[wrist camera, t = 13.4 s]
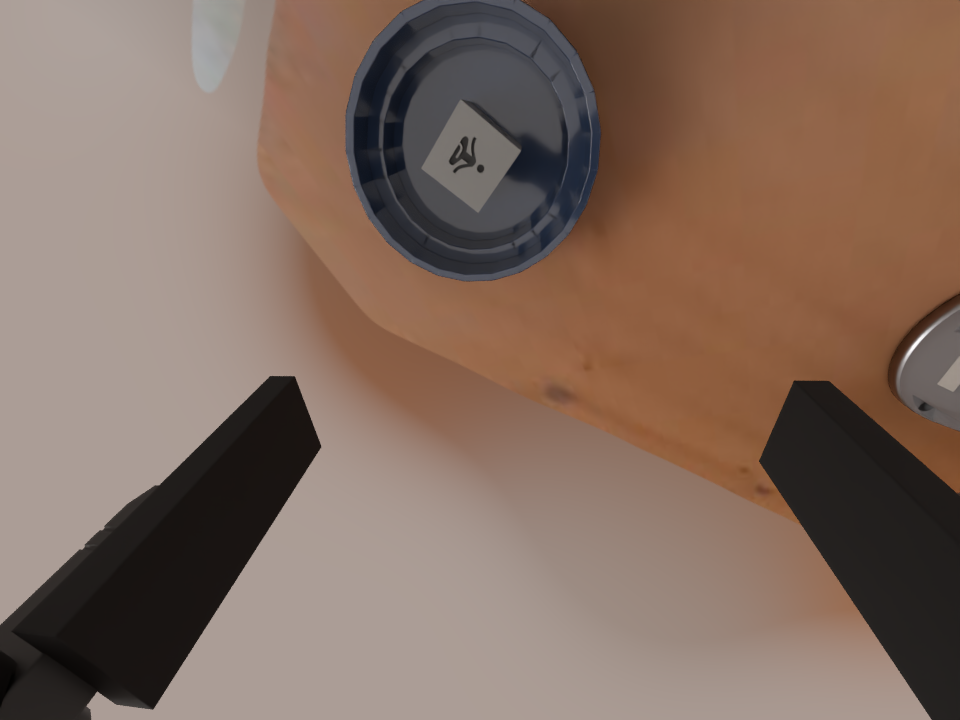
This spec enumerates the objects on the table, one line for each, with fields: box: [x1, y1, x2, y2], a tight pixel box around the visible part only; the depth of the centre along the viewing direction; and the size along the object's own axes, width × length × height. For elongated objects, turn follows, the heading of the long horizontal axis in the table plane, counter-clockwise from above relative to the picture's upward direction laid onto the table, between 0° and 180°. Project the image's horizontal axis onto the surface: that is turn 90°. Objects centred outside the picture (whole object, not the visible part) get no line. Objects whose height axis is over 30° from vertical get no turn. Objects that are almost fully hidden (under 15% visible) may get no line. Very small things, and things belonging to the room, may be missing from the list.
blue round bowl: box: [346, 0, 601, 281], centre depth 29 cm, size 17×17×6 cm
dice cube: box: [421, 99, 522, 213], centre depth 29 cm, size 5×5×5 cm
